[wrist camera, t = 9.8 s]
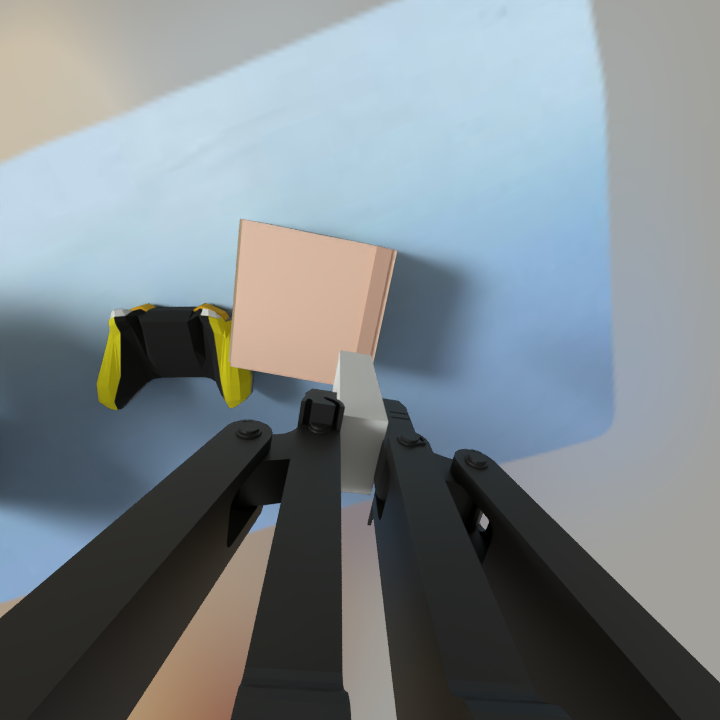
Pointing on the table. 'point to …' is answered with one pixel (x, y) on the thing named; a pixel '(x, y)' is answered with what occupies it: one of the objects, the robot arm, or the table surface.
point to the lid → (306, 301)
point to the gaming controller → (169, 352)
